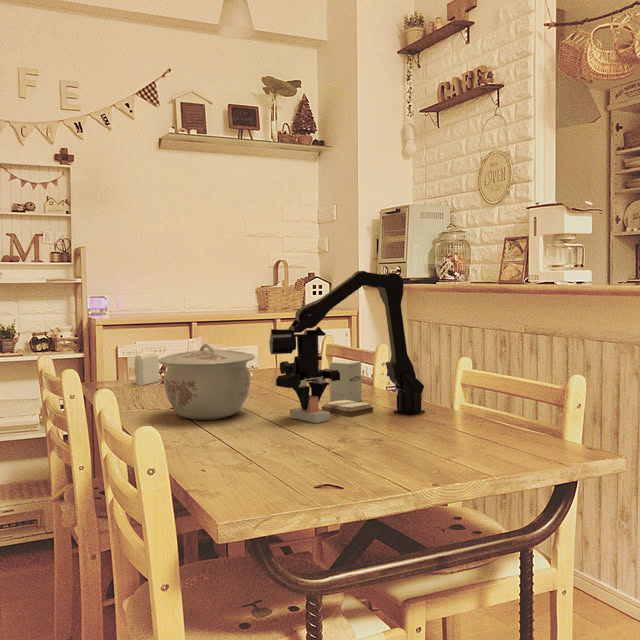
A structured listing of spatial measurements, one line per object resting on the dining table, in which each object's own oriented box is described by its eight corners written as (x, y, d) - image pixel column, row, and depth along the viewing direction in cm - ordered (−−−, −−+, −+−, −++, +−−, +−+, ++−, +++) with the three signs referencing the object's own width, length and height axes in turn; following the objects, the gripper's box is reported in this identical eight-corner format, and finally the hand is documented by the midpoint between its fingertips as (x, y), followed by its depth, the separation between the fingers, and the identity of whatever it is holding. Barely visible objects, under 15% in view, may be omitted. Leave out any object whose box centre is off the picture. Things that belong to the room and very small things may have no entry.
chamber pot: (239, 427, 180) (237, 348, 179) (142, 424, 186) (139, 348, 184) (268, 406, 208) (266, 338, 206) (183, 405, 213) (181, 339, 212)
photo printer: (142, 386, 255) (141, 353, 254) (133, 385, 257) (132, 352, 256) (161, 382, 264) (160, 350, 263) (152, 381, 266) (151, 349, 265)
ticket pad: (373, 412, 195) (373, 403, 195) (350, 417, 190) (350, 408, 189) (344, 407, 204) (344, 398, 204) (321, 411, 198) (321, 402, 198)
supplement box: (349, 404, 208) (348, 363, 207) (329, 402, 213) (328, 362, 212) (362, 401, 214) (361, 360, 213) (343, 398, 218) (342, 359, 218)
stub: (330, 420, 185) (329, 397, 185) (316, 423, 182) (315, 399, 181) (303, 414, 193) (303, 392, 193) (290, 417, 190) (289, 395, 190)
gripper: (314, 347, 199) (315, 401, 200) (262, 353, 186) (264, 410, 187) (340, 350, 190) (342, 405, 191) (288, 356, 178) (290, 416, 179)
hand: (309, 409), depth 187 cm, fingers closed on stub, 3 cm apart
